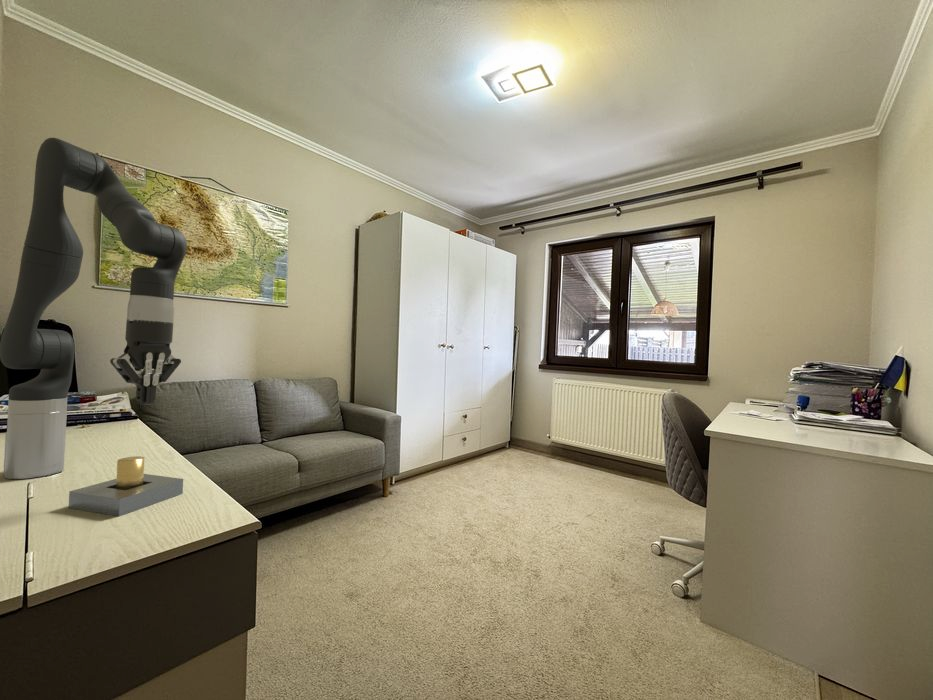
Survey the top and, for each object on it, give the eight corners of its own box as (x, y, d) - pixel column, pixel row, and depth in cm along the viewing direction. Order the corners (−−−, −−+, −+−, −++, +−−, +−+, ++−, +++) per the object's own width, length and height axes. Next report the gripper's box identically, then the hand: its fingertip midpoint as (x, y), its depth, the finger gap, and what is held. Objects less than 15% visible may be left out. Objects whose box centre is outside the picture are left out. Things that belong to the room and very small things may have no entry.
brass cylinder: (109, 502, 75) (111, 460, 75) (131, 495, 79) (133, 455, 79) (126, 505, 74) (128, 462, 74) (147, 497, 78) (149, 457, 78)
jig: (68, 507, 72) (69, 491, 72) (137, 487, 84) (137, 472, 84) (119, 516, 69) (119, 499, 69) (182, 493, 81) (183, 478, 81)
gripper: (168, 322, 88) (162, 399, 88) (100, 315, 75) (94, 406, 75) (194, 323, 86) (189, 402, 86) (130, 317, 73) (124, 409, 73)
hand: (145, 403), depth 81 cm, fingers closed
